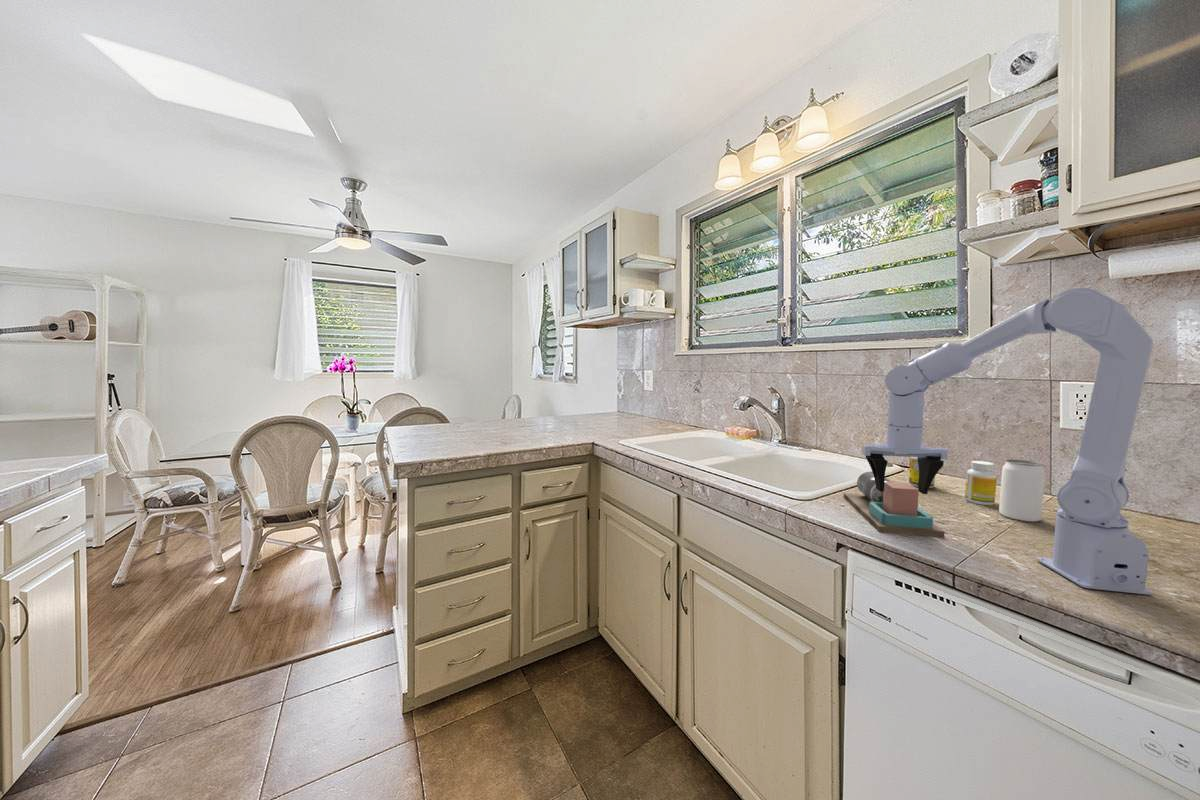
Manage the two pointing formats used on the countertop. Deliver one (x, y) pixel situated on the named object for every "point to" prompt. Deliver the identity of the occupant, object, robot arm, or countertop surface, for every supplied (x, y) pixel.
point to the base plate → (862, 506)
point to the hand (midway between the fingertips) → (901, 491)
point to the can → (1022, 490)
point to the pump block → (900, 499)
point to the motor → (870, 487)
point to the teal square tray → (901, 517)
